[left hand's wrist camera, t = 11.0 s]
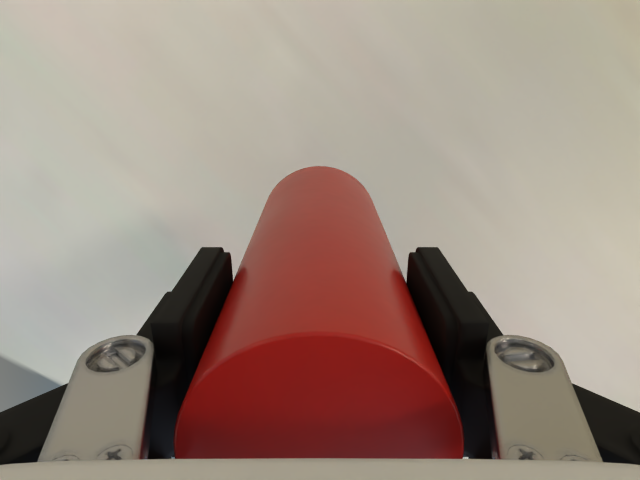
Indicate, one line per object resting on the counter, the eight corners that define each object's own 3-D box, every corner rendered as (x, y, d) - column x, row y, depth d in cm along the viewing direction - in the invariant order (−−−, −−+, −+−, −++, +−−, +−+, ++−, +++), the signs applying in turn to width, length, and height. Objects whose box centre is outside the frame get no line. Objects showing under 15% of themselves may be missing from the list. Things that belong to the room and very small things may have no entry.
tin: (321, 292, 20) (322, 590, 8) (240, 222, 19) (113, 461, 7) (398, 220, 18) (525, 454, 7) (317, 141, 17) (314, 270, 6)
